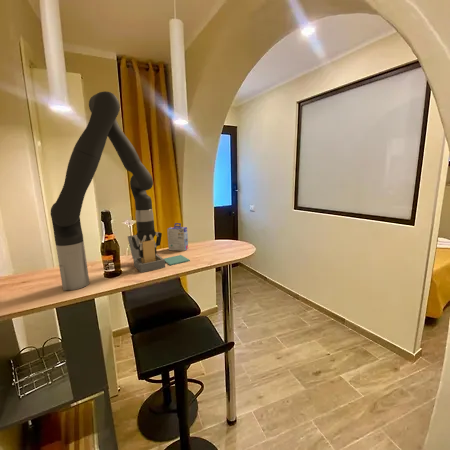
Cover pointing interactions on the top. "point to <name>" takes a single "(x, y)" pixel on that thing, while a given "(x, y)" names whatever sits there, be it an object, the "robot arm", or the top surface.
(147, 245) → the block
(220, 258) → the top surface
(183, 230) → the ink cartridge box
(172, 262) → the mat
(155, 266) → the case
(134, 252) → the lid
